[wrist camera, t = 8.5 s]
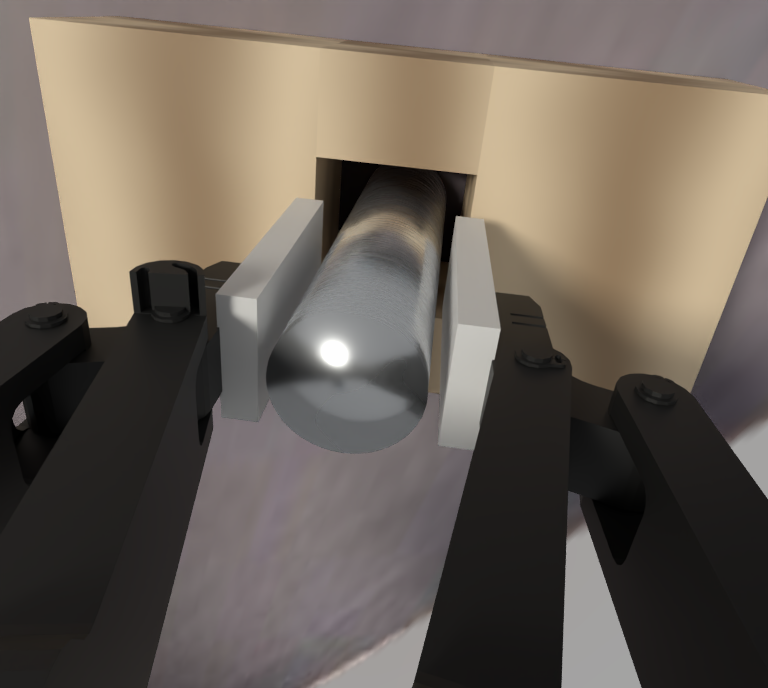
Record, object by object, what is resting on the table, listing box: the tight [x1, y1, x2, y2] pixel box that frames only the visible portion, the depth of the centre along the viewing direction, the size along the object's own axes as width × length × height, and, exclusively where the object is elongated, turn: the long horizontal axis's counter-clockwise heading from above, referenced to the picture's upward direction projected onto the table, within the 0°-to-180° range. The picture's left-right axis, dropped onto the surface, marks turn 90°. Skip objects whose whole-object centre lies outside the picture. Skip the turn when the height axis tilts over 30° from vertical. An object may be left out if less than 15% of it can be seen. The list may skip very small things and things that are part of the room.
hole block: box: [29, 16, 768, 394], centre depth 20 cm, size 20×10×5 cm, turn 85°
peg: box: [266, 164, 446, 454], centre depth 17 cm, size 3×3×13 cm
